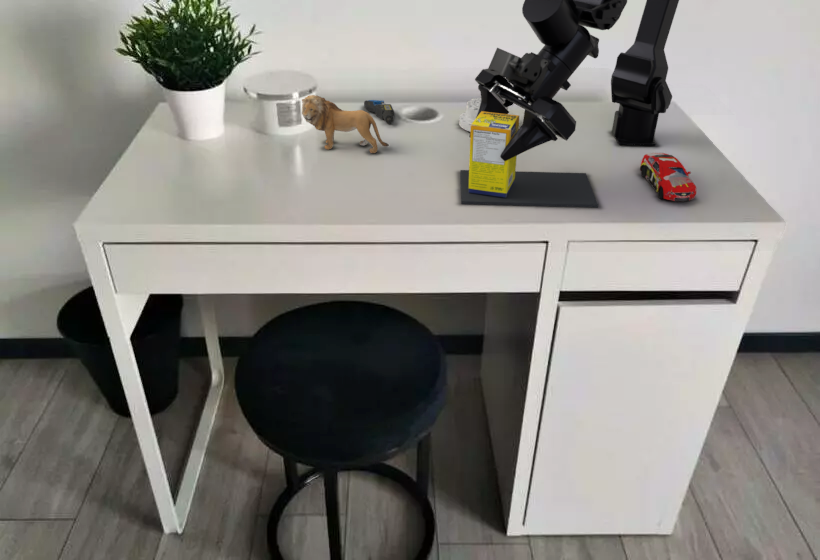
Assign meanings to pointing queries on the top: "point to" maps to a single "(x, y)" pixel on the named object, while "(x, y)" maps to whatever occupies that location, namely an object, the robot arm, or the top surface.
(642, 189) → the top surface
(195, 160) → the top surface
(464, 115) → the mechanical component
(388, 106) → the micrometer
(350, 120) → the lion figurine
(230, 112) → the top surface
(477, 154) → the supplement box
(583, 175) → the desk pad
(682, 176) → the race car
